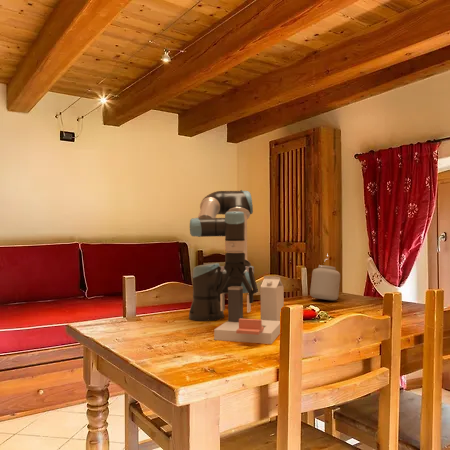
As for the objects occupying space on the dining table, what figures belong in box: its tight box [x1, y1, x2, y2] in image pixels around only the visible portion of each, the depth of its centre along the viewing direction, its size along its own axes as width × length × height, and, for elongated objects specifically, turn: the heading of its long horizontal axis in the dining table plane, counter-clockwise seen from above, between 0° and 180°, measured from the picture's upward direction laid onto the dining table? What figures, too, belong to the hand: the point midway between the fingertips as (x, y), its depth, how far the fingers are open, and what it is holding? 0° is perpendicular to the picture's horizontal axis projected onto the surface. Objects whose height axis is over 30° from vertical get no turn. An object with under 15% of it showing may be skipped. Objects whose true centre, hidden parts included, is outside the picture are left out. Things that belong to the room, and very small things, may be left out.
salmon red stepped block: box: [236, 318, 264, 335], centre depth 143 cm, size 8×8×4 cm
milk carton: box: [259, 275, 285, 321], centre depth 173 cm, size 7×7×19 cm
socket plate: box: [213, 320, 281, 345], centre depth 154 cm, size 20×20×4 cm
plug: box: [227, 286, 244, 322], centre depth 162 cm, size 4×4×13 cm
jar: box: [309, 254, 341, 301], centre depth 229 cm, size 19×15×25 cm
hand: (235, 311), depth 162 cm, fingers open, 10 cm apart
